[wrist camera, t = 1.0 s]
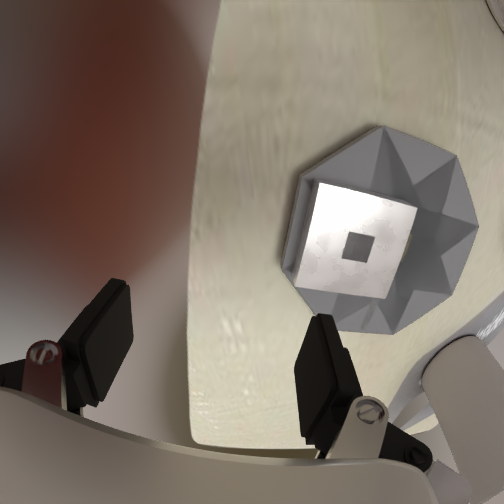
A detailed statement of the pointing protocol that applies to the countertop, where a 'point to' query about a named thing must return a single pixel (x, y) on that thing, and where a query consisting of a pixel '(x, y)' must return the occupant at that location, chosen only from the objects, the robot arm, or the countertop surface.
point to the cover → (351, 240)
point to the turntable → (421, 235)
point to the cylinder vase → (470, 412)
